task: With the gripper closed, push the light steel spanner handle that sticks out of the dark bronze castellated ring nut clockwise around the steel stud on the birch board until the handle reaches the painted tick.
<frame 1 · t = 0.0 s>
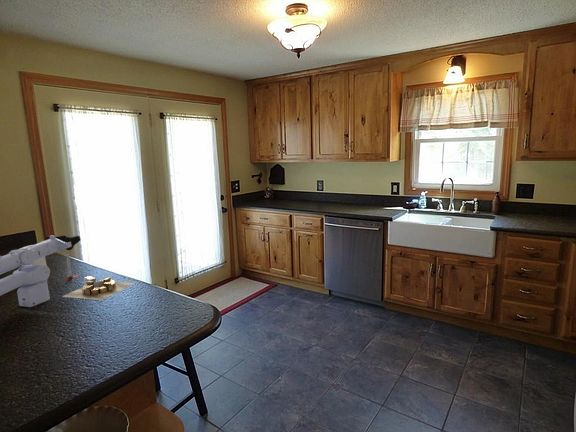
hand: (72, 237, 154), 22 cm above the kitchen island, tool horizontal, fingers open, 7 cm apart
spindle board: (100, 292, 148), on the kitchen island
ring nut: (94, 284, 148), point 3 cm above the kitchen island, hinge at 0.0°
skincare box: (36, 278, 172), on the kitchen island
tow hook: (79, 279, 166), on the kitchen island
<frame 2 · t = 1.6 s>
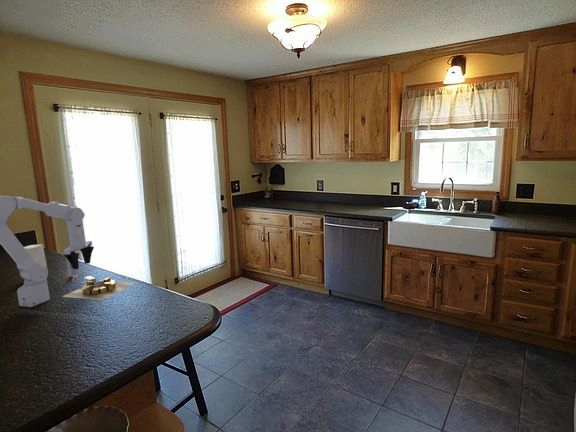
hand: (81, 266, 152), 10 cm above the kitchen island, tool pointing down, fingers open, 7 cm apart
nothing on the kitchen island moved.
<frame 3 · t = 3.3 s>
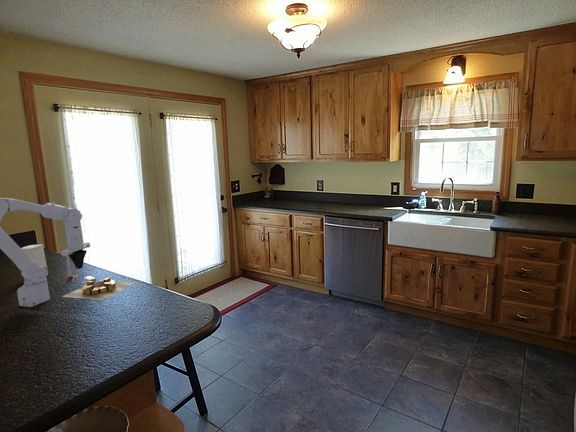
hand: (79, 268, 150), 10 cm above the kitchen island, tool pointing down, fingers closed
nothing on the kitchen island moved.
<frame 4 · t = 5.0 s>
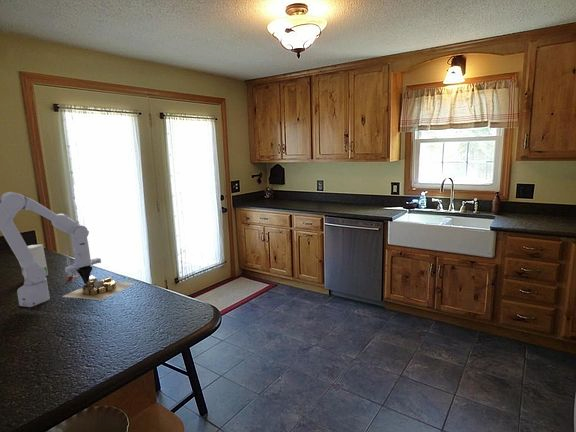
hand: (86, 283, 151), 3 cm above the kitchen island, tool pointing down, fingers closed
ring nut: (95, 284, 148), point 3 cm above the kitchen island, hinge at 4.2°, touching gripper
everything else where it was.
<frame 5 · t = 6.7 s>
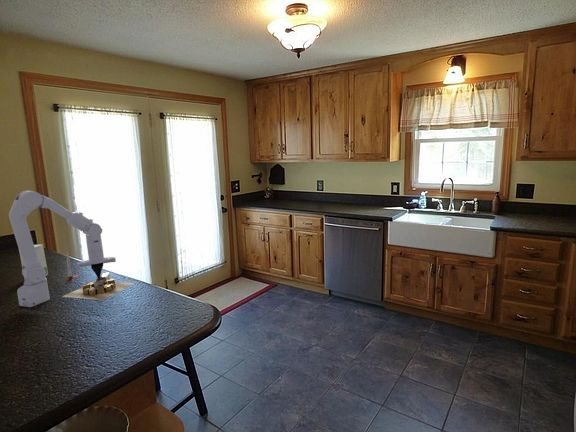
hand: (99, 280, 155), 3 cm above the kitchen island, tool pointing down, fingers closed
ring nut: (98, 283, 149), point 3 cm above the kitchen island, hinge at 40.6°, touching gripper
everything else where it was.
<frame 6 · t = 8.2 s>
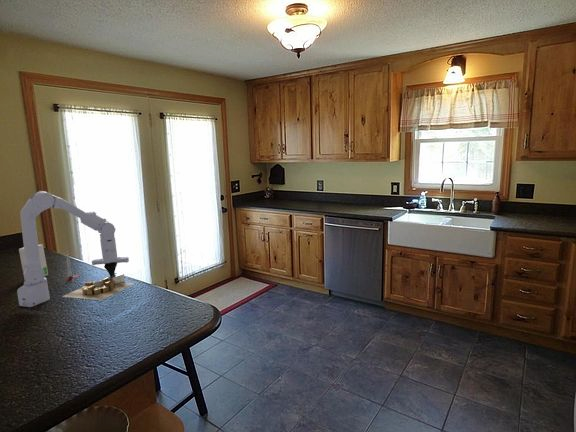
hand: (112, 279, 156), 3 cm above the kitchen island, tool pointing down, fingers closed, pressing on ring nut
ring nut: (102, 283, 150), point 3 cm above the kitchen island, hinge at 81.6°, touching gripper
everything else where it was.
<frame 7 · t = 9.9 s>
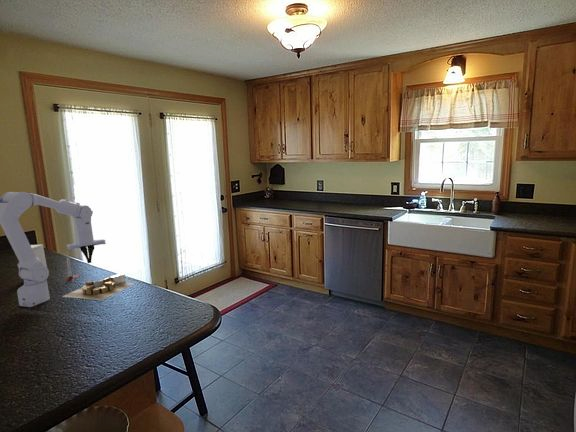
hand: (89, 262, 157), 10 cm above the kitchen island, tool pointing down, fingers closed
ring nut: (102, 283, 150), point 3 cm above the kitchen island, hinge at 85.8°
everything else where it was.
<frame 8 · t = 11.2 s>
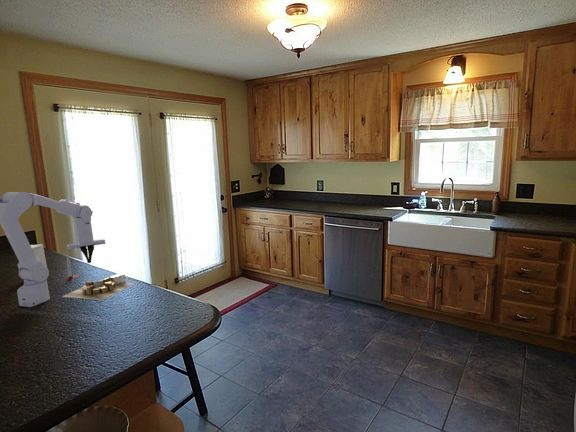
hand: (89, 262, 157), 10 cm above the kitchen island, tool pointing down, fingers closed
nothing on the kitchen island moved.
at the end: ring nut at +86° (first picture: +0°) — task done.
